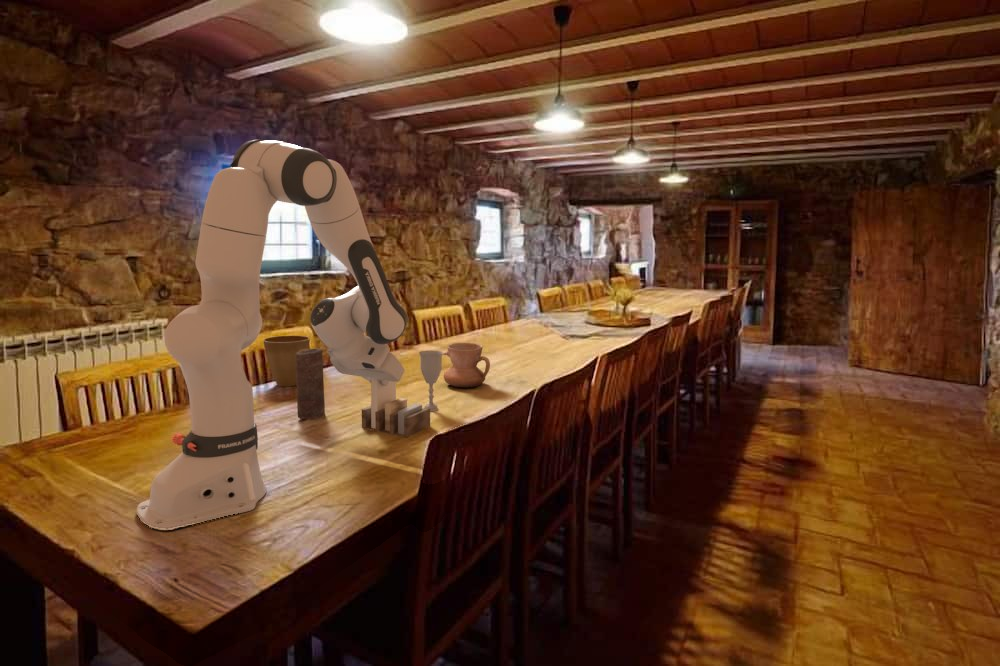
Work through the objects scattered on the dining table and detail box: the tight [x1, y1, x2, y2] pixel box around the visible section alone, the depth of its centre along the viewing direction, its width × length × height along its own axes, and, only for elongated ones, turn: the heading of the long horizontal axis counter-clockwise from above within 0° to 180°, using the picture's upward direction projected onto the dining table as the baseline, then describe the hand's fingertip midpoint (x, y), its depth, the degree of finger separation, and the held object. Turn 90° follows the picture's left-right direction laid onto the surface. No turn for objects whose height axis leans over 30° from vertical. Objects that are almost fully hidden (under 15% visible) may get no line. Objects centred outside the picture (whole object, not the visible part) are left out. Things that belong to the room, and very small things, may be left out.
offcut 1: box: [385, 397, 408, 431], centre depth 158 cm, size 7×2×7 cm, turn 153°
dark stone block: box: [296, 348, 326, 420], centre depth 165 cm, size 8×7×20 cm
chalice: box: [418, 349, 444, 412], centre depth 174 cm, size 7×7×18 cm
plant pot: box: [262, 335, 311, 388], centre depth 202 cm, size 15×15×16 cm
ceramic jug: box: [442, 342, 491, 389], centre depth 206 cm, size 18×14×14 cm
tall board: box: [370, 378, 397, 429], centre depth 158 cm, size 8×2×16 cm, turn 153°
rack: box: [361, 405, 431, 438], centre depth 158 cm, size 10×15×6 cm, turn 63°
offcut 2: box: [398, 403, 423, 435], centre depth 156 cm, size 8×2×6 cm, turn 153°
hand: (380, 382), depth 157 cm, fingers closed on tall board, 2 cm apart
